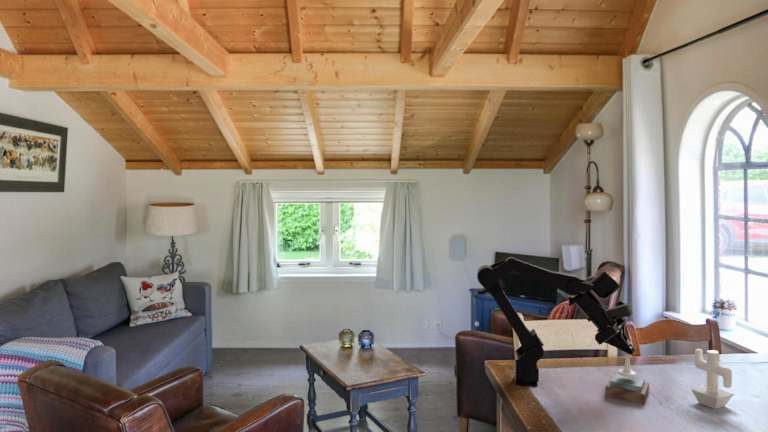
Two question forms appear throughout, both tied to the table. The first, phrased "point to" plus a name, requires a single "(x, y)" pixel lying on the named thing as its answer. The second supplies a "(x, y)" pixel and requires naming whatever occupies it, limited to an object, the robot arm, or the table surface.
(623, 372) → the chess piece
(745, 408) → the table surface
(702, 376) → the table surface
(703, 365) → the figurine
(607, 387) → the stepped pedestal base
